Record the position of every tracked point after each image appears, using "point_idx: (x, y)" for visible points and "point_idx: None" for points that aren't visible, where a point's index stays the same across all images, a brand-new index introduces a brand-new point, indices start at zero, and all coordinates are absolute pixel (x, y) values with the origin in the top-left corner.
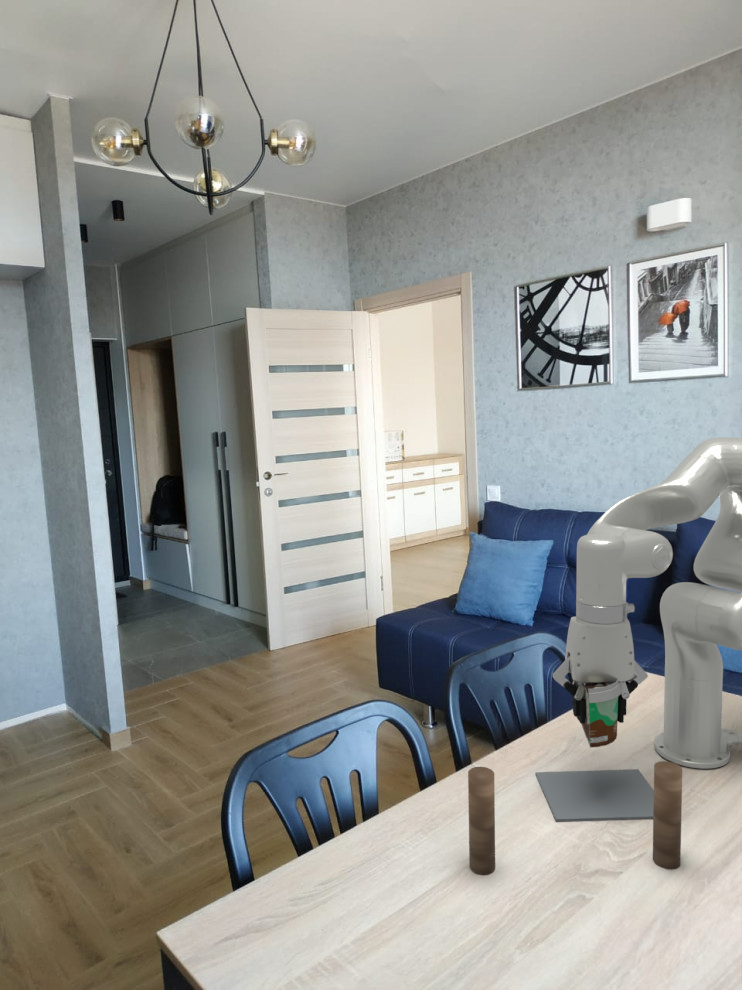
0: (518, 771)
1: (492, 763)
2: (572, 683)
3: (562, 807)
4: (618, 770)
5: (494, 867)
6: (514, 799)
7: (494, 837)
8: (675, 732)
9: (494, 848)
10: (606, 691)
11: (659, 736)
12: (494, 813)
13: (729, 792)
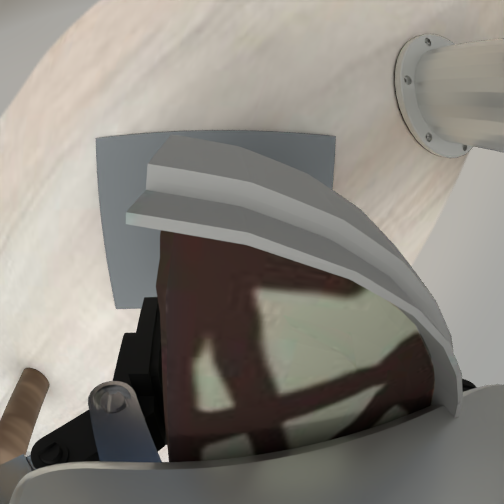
0: (65, 126)
1: (24, 99)
2: (94, 435)
3: (130, 275)
4: (292, 136)
5: (48, 387)
6: (50, 237)
7: (37, 415)
8: (450, 110)
9: (41, 404)
10: None
11: (416, 43)
12: (29, 439)
13: (431, 224)
